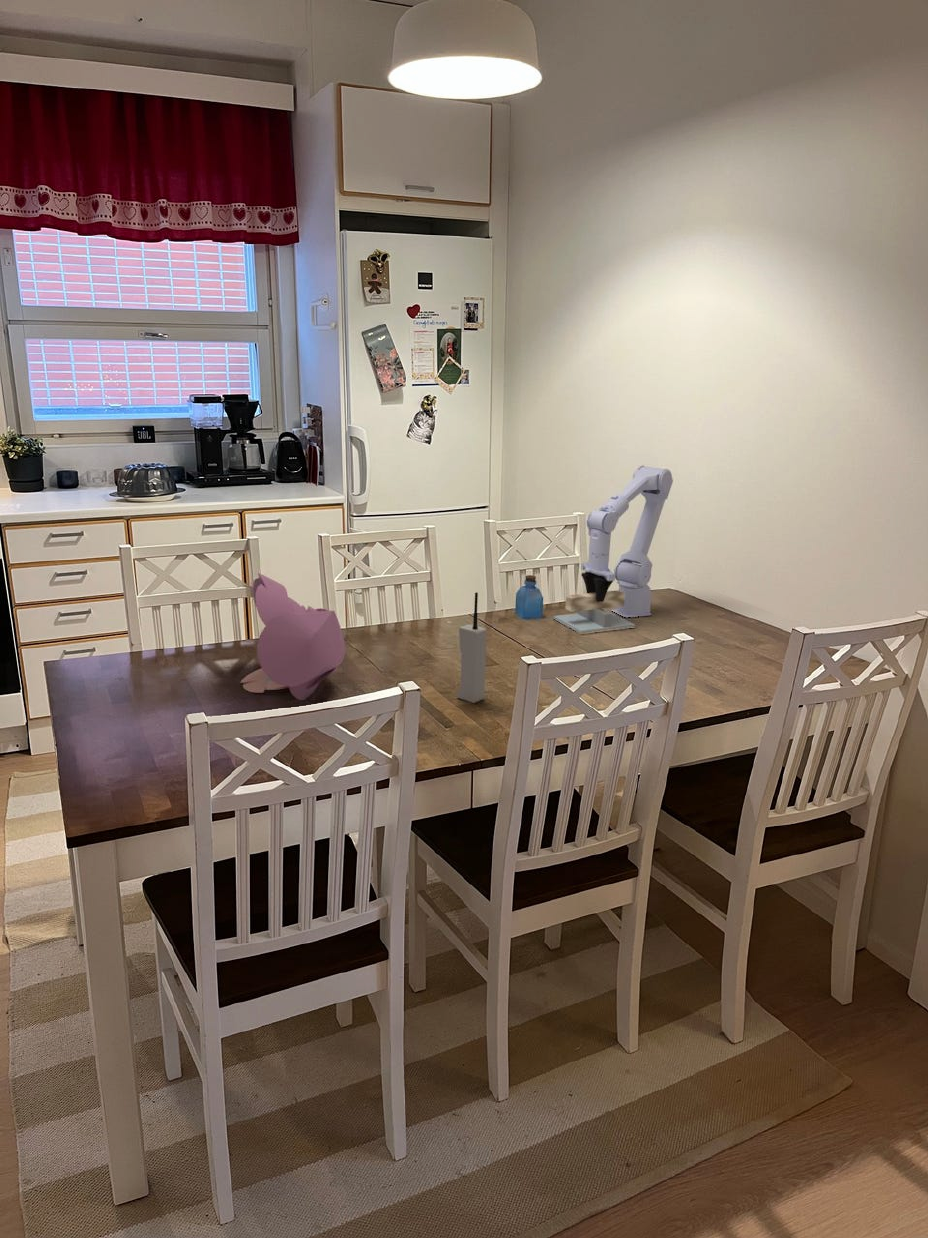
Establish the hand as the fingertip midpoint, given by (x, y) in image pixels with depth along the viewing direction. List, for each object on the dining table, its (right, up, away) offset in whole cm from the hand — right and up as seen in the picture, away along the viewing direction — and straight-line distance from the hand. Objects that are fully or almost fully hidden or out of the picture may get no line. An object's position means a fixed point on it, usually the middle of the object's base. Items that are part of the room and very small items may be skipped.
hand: (595, 599), depth 263 cm
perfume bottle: (-19, -5, +8) cm, 21 cm away
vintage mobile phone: (-36, -24, -56) cm, 71 cm away
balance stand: (0, -7, +2) cm, 7 cm away
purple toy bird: (-79, -21, -50) cm, 96 cm away
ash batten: (0, -2, +1) cm, 2 cm away
